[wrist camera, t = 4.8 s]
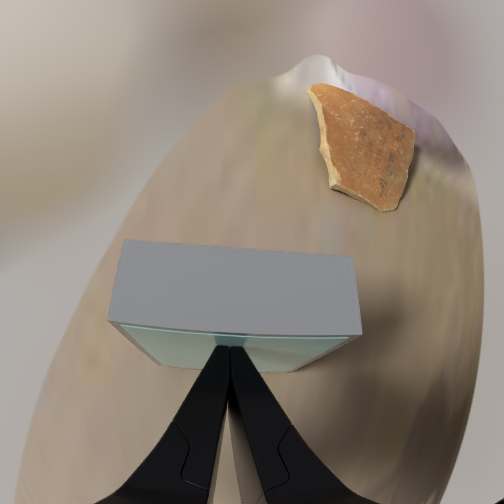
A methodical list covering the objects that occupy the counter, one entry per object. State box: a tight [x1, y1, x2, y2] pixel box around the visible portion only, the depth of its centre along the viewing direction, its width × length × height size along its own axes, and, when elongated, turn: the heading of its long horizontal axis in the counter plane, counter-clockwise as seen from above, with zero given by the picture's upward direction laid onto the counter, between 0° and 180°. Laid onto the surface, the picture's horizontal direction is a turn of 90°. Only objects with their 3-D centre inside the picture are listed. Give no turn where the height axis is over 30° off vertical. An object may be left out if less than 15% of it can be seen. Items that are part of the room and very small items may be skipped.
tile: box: [107, 240, 362, 372], centre depth 12 cm, size 2×7×8 cm, turn 87°
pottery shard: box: [306, 84, 415, 213], centre depth 21 cm, size 10×9×2 cm
